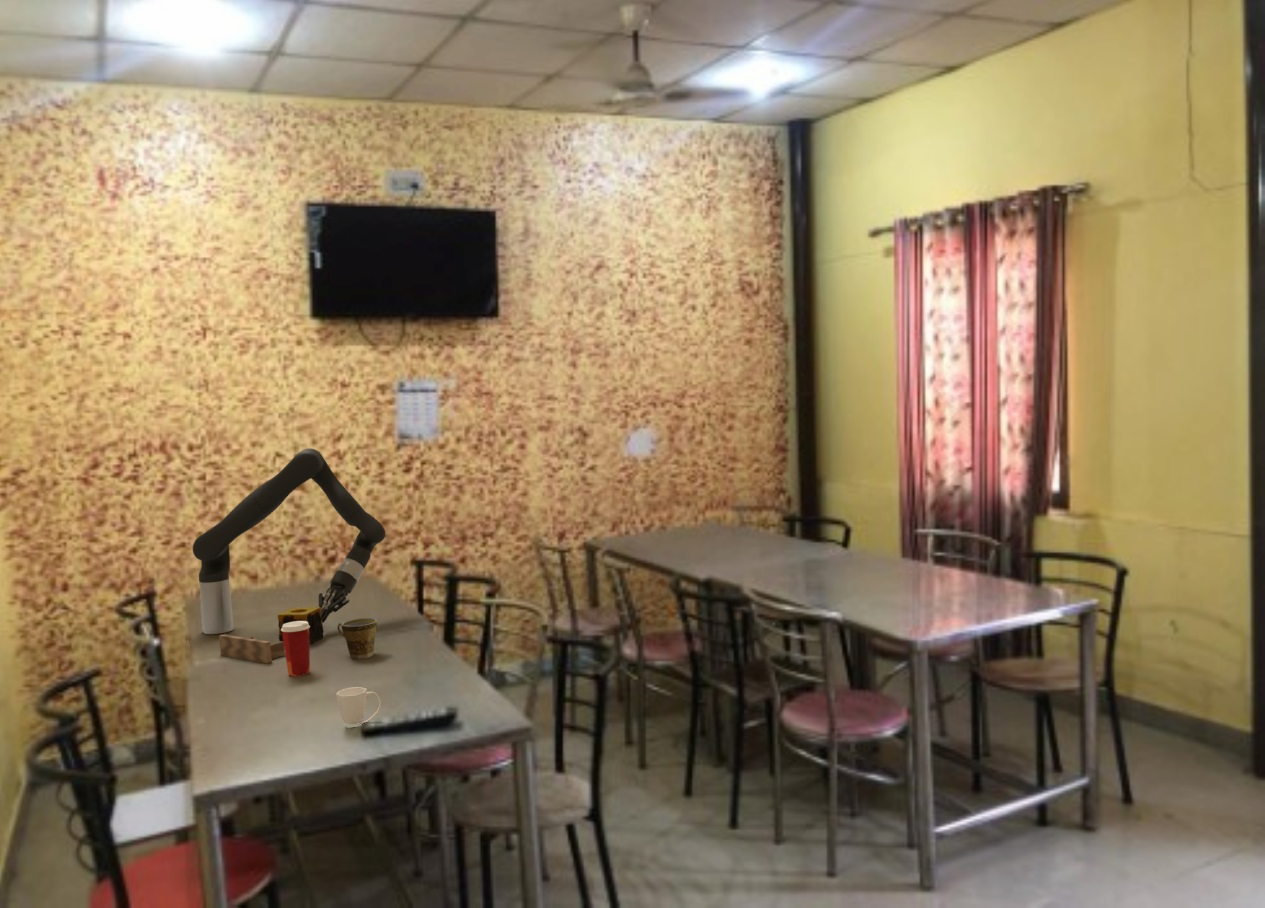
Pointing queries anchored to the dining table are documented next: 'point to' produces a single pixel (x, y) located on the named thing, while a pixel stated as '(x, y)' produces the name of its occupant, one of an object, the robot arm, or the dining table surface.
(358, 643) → the ceramic cup
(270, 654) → the brown rectangular block structure
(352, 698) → the cup
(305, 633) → the paper cup
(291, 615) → the candle
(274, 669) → the dining table surface
